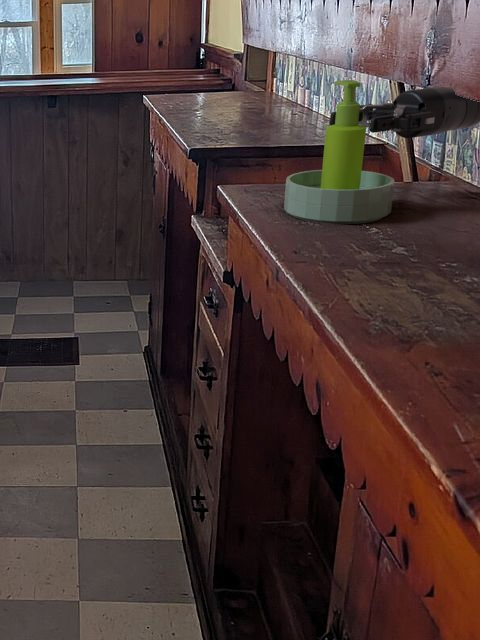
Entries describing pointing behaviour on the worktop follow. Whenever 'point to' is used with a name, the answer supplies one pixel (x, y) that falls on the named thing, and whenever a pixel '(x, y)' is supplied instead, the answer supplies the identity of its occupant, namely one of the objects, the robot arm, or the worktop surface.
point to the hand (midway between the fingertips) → (351, 122)
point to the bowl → (338, 199)
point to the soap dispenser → (344, 143)
